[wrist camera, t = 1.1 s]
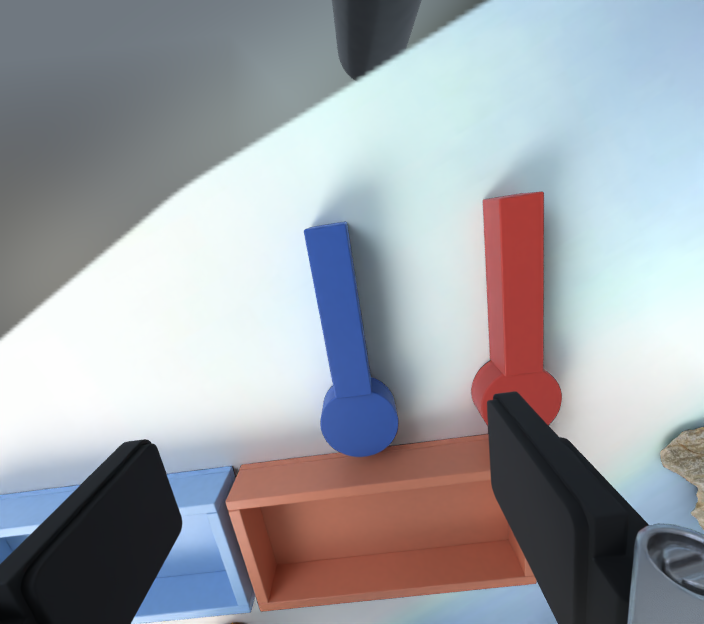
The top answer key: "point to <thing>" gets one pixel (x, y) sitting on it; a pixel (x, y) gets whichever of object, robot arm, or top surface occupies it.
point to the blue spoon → (347, 351)
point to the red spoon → (516, 305)
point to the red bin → (374, 525)
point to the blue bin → (185, 556)
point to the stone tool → (688, 463)
